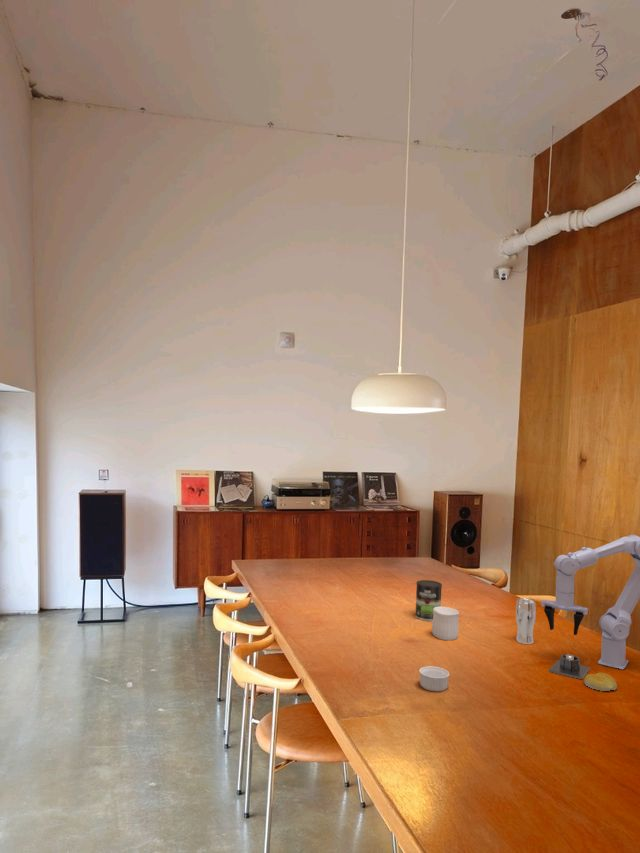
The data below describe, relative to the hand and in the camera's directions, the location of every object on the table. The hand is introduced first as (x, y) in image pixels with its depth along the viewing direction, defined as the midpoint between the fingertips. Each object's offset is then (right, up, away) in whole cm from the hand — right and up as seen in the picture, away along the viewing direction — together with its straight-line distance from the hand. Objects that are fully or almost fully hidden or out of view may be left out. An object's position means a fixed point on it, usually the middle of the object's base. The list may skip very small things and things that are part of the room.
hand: (563, 631), depth 203 cm
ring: (-1, -9, -9) cm, 12 cm away
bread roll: (+3, -10, -20) cm, 23 cm away
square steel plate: (-2, -10, -8) cm, 13 cm away
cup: (-36, -9, +21) cm, 42 cm away
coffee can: (-38, -9, +43) cm, 58 cm away
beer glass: (-7, -10, +18) cm, 22 cm away
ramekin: (-49, -8, -24) cm, 55 cm away
